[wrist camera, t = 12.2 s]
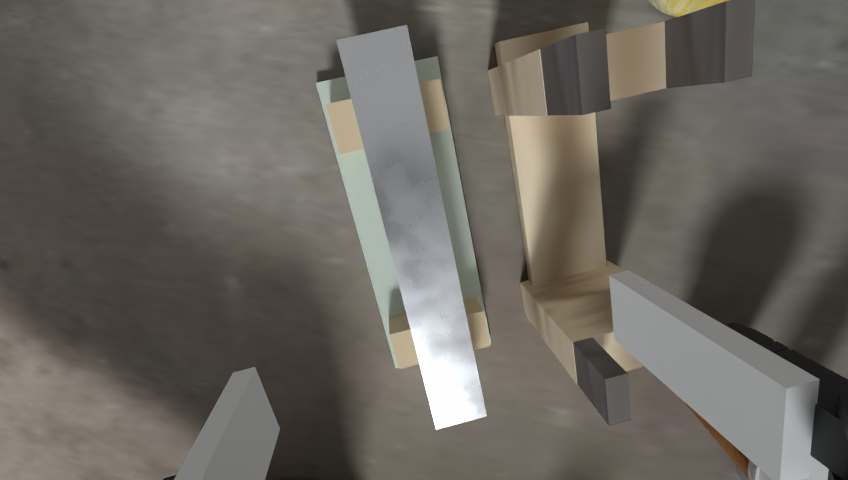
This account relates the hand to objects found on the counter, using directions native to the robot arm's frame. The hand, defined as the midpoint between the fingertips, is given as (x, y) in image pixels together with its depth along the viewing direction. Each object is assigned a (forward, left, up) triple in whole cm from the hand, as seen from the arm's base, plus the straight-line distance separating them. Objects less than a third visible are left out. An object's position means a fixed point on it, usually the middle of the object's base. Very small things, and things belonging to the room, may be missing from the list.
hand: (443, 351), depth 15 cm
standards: (+11, 0, -16) cm, 20 cm away
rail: (0, 0, -13) cm, 13 cm away
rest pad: (0, 0, -16) cm, 16 cm away
